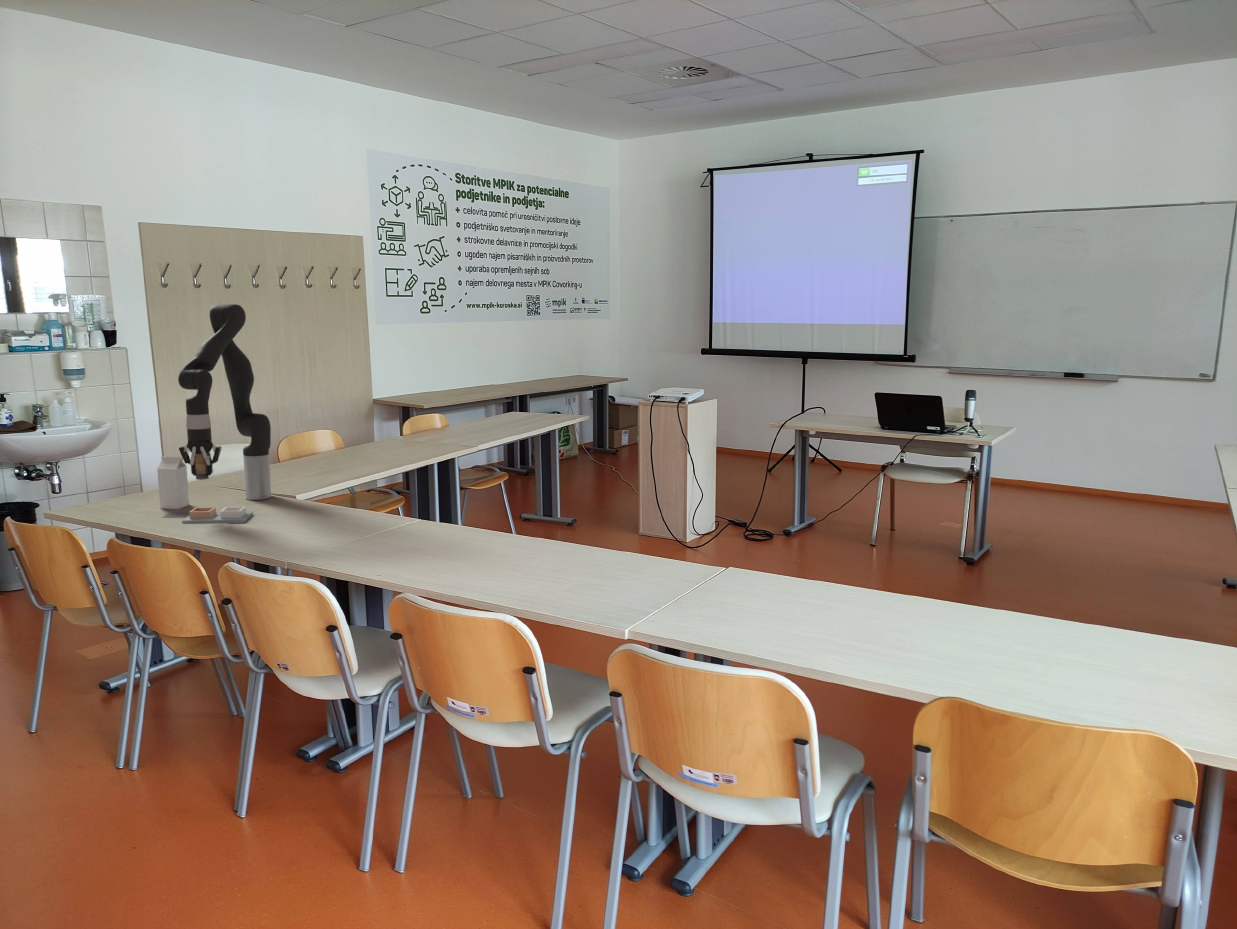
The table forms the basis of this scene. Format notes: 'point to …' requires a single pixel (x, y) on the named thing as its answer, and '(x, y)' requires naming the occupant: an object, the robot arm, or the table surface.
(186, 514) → the feeder mat
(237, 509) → the double pet bowl
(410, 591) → the table surface
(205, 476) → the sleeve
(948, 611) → the table surface
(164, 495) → the milk carton
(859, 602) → the table surface
